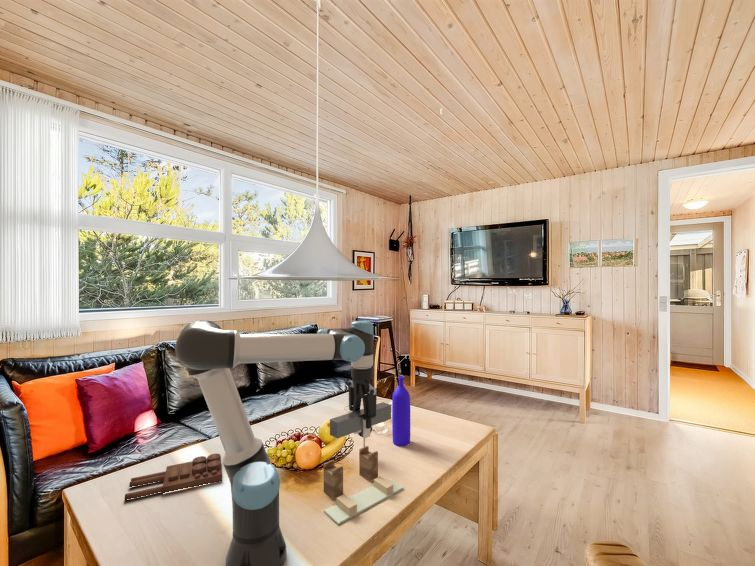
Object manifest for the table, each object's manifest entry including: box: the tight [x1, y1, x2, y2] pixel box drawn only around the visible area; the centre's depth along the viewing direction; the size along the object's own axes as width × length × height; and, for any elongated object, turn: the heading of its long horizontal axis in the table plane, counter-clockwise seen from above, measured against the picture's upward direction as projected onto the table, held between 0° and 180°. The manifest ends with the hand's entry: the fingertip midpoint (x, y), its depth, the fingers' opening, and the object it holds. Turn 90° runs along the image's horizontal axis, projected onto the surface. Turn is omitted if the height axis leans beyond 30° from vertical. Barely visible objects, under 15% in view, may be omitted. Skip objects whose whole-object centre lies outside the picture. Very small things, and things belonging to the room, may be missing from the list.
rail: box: [329, 401, 392, 439], centre depth 120 cm, size 24×4×5 cm, turn 133°
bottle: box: [391, 375, 411, 447], centre depth 161 cm, size 8×8×30 cm
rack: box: [323, 445, 379, 500], centre depth 128 cm, size 20×6×10 cm, turn 131°
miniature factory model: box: [124, 453, 223, 501], centre depth 131 cm, size 16×5×30 cm
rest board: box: [323, 476, 404, 526], centre depth 119 cm, size 28×8×3 cm, turn 131°
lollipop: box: [357, 426, 373, 447], centre depth 148 cm, size 7×7×15 cm
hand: (362, 434), depth 120 cm, fingers closed on rail, 4 cm apart
